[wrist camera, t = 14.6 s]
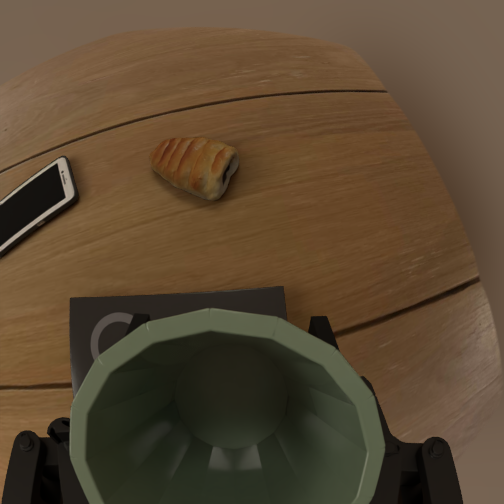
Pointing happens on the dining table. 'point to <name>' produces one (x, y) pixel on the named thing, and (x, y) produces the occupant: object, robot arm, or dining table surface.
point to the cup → (225, 416)
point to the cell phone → (36, 202)
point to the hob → (151, 317)
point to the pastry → (196, 165)
